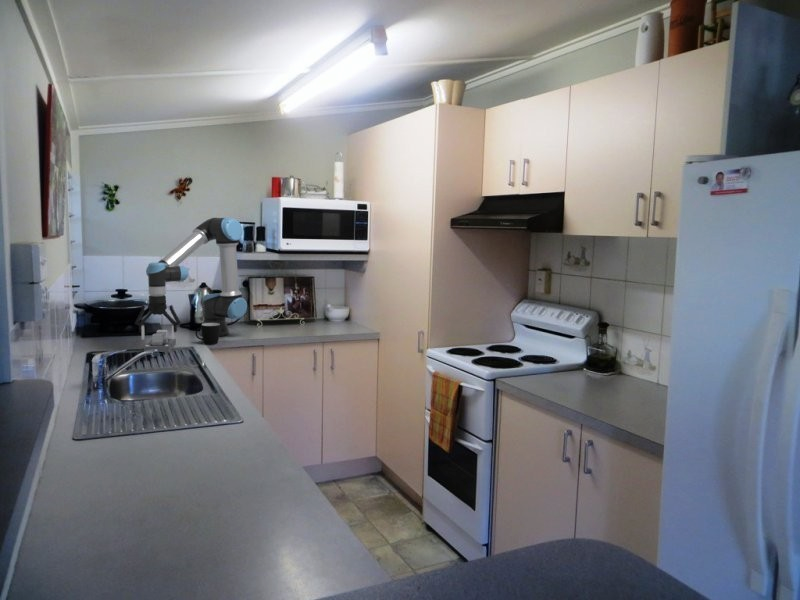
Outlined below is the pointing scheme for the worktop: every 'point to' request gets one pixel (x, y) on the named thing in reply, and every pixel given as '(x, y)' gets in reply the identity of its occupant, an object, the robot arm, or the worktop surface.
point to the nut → (158, 340)
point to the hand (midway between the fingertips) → (158, 339)
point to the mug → (209, 333)
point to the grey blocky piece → (167, 345)
